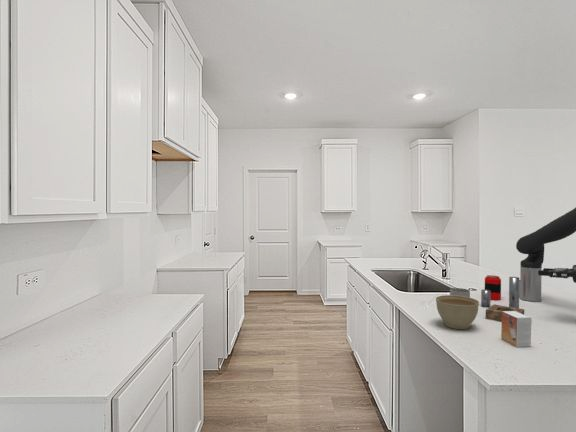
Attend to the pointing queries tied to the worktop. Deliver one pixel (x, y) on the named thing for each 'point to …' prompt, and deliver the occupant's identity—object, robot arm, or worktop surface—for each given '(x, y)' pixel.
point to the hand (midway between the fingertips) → (540, 271)
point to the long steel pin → (514, 292)
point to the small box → (516, 328)
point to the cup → (460, 292)
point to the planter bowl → (457, 310)
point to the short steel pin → (485, 298)
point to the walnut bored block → (499, 312)
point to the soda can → (493, 286)
